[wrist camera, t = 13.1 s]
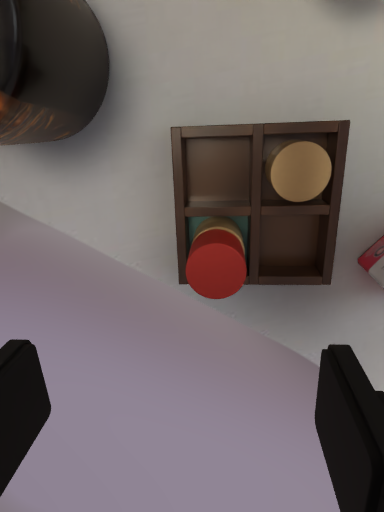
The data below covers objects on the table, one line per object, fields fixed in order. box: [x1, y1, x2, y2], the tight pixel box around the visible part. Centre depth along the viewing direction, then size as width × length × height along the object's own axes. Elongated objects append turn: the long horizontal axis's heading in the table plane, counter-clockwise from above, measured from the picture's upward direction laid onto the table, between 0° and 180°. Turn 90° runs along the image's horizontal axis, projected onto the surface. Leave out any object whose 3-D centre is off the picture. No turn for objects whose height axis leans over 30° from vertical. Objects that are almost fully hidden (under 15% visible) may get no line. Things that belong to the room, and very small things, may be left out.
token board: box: [171, 120, 350, 285], centre depth 29 cm, size 13×13×3 cm
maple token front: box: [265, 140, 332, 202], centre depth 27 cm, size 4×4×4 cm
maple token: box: [192, 216, 245, 255], centre depth 29 cm, size 4×4×4 cm
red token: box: [185, 229, 247, 299], centre depth 26 cm, size 4×4×4 cm
